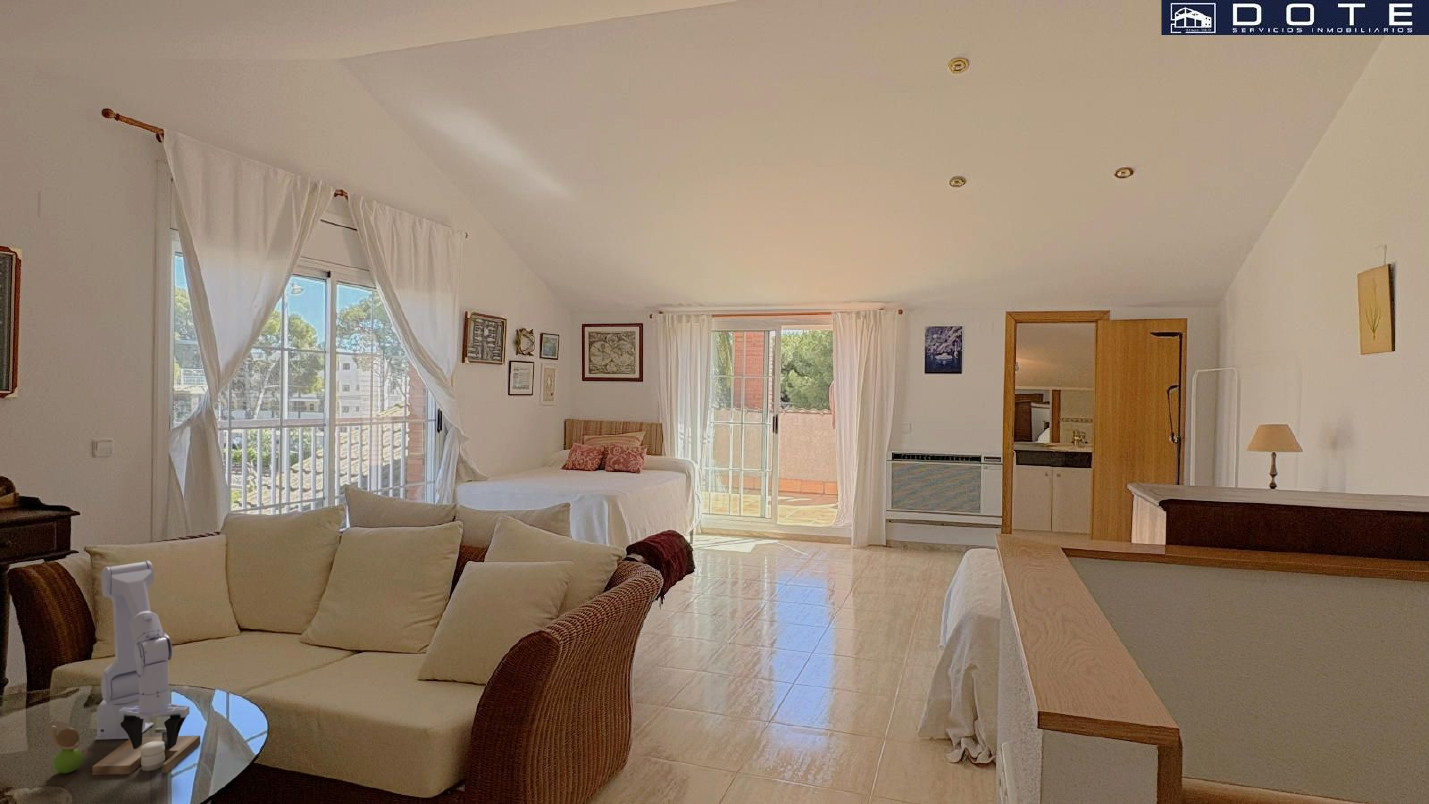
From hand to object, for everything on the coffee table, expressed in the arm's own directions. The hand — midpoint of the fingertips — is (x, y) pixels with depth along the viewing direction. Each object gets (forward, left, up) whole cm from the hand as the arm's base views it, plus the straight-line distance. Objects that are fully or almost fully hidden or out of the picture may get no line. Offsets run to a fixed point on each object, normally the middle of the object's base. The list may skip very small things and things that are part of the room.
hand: (154, 746), depth 185 cm
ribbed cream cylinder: (0, 0, -5) cm, 5 cm away
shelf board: (-3, +3, -5) cm, 7 cm away
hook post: (0, +4, -3) cm, 5 cm away
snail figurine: (-18, -2, -5) cm, 19 cm away
